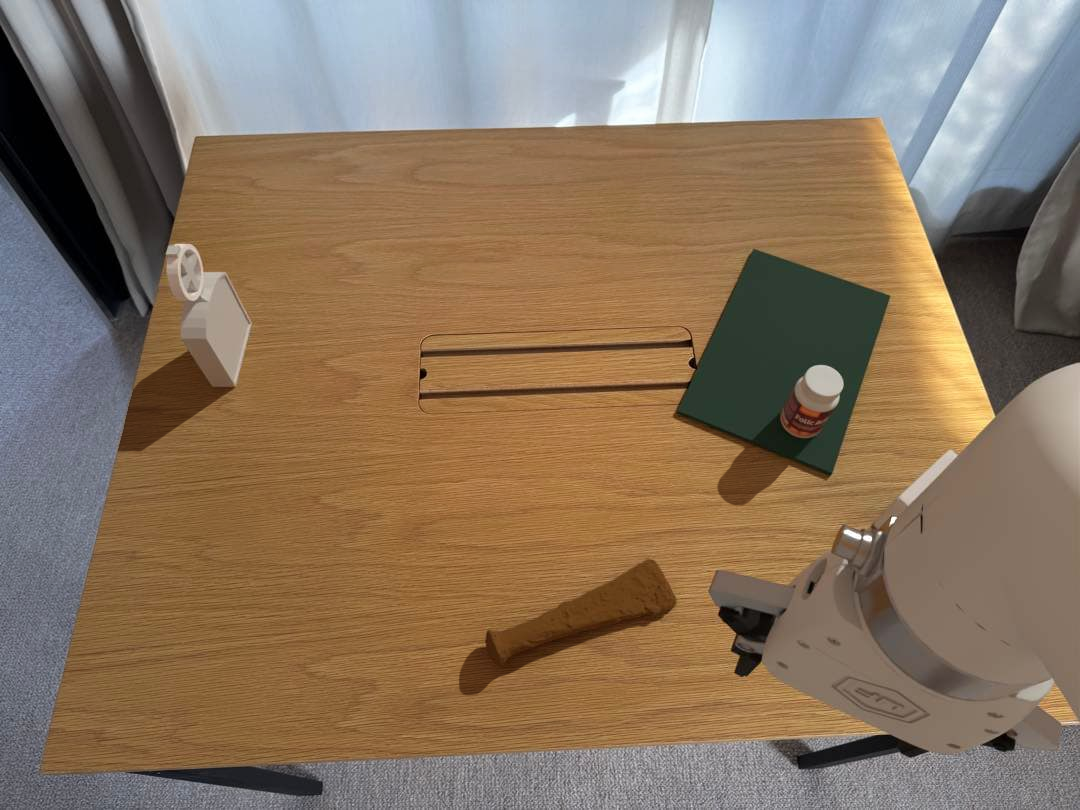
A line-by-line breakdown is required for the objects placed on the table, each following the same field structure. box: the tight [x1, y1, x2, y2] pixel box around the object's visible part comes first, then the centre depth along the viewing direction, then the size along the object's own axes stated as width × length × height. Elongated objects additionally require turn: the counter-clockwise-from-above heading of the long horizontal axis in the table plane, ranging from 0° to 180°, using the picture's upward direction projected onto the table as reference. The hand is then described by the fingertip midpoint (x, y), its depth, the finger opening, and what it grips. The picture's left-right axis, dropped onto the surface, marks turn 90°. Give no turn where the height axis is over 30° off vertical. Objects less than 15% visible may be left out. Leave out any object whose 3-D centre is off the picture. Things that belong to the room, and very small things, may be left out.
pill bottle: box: [780, 365, 844, 438], centre depth 83 cm, size 5×5×8 cm
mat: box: [676, 248, 891, 476], centre depth 93 cm, size 18×28×1 cm, turn 154°
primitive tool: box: [484, 558, 677, 668], centre depth 74 cm, size 19×6×4 cm, turn 115°
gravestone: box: [165, 243, 253, 388], centre depth 85 cm, size 3×9×18 cm, turn 0°
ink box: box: [866, 449, 959, 531], centre depth 75 cm, size 9×5×12 cm, turn 130°
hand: (825, 689), depth 45 cm, fingers open, 9 cm apart
